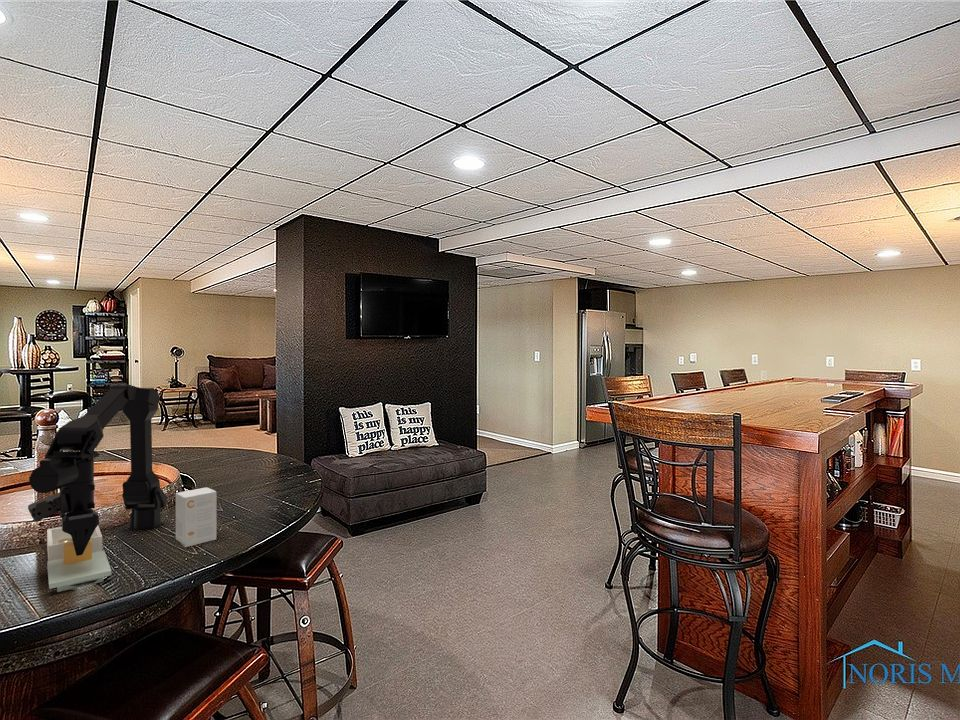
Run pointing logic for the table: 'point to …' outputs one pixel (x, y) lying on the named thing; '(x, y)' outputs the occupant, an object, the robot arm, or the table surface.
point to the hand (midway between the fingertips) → (78, 549)
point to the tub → (57, 548)
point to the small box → (196, 516)
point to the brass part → (65, 540)
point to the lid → (77, 568)
